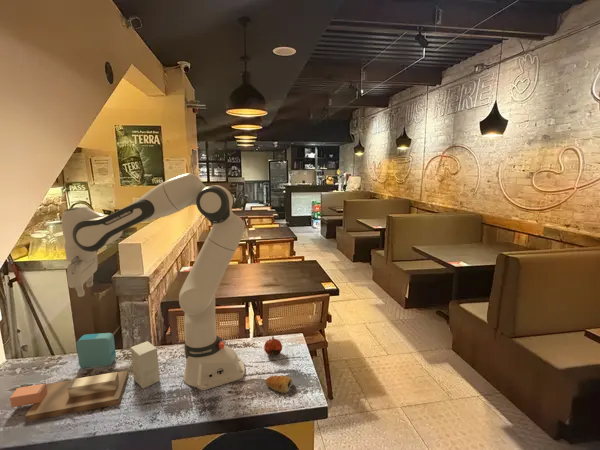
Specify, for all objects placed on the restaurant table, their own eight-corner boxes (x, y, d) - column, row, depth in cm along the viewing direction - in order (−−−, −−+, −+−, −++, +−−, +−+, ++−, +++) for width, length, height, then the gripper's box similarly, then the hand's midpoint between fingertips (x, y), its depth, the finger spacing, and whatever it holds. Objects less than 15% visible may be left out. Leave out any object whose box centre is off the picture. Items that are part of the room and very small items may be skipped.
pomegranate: (282, 363, 137) (285, 339, 144) (278, 356, 132) (281, 332, 139) (265, 363, 139) (268, 340, 145) (260, 356, 133) (263, 332, 140)
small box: (160, 380, 123) (157, 348, 121) (142, 389, 119) (139, 355, 116) (150, 371, 129) (147, 340, 127) (133, 379, 124) (130, 347, 122)
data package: (116, 359, 137) (113, 332, 135) (112, 366, 133) (108, 338, 131) (85, 361, 136) (81, 334, 134) (79, 368, 131) (75, 340, 129)
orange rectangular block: (47, 392, 114) (45, 383, 114) (41, 402, 110) (39, 392, 109) (19, 397, 112) (17, 387, 111) (11, 407, 107) (9, 397, 107)
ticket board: (128, 375, 127) (127, 362, 126) (119, 404, 111) (117, 388, 110) (47, 389, 119) (45, 374, 118) (26, 421, 104) (23, 405, 103)
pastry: (262, 389, 119) (262, 379, 118) (270, 378, 125) (270, 368, 124) (287, 395, 116) (287, 385, 115) (294, 383, 122) (294, 373, 121)
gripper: (81, 260, 108) (86, 301, 110) (99, 245, 127) (103, 280, 130) (59, 262, 106) (64, 303, 108) (80, 247, 125) (84, 282, 128)
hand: (85, 291), depth 119 cm, fingers open, 8 cm apart
